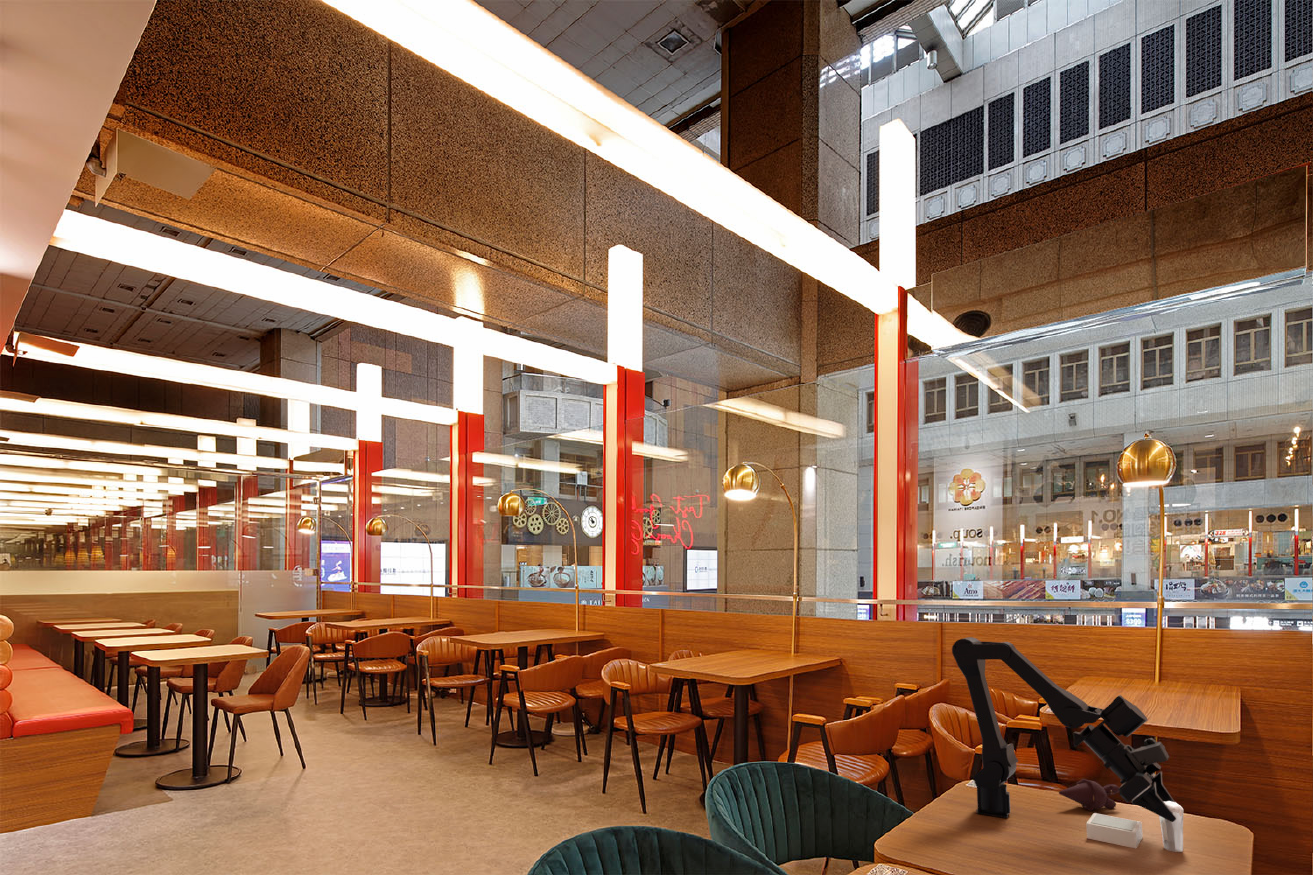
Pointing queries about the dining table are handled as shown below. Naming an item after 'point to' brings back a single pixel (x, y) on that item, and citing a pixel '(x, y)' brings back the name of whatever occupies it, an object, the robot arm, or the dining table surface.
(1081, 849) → the dining table surface
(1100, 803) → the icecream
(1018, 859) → the dining table surface
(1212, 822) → the dining table surface
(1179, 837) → the milkshake
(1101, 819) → the tile base
